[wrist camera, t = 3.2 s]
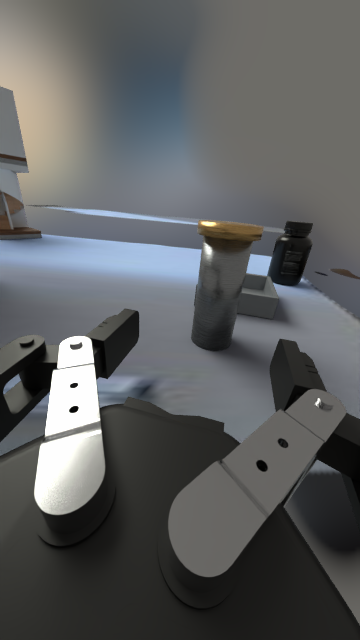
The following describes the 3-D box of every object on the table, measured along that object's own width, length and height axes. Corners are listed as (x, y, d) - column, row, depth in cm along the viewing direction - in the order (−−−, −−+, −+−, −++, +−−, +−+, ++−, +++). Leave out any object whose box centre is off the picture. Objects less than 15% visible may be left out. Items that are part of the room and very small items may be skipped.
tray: (194, 305, 33) (196, 285, 31) (205, 283, 42) (207, 267, 41) (272, 319, 31) (279, 298, 29) (265, 293, 40) (270, 276, 39)
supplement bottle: (304, 283, 49) (325, 224, 43) (291, 288, 44) (312, 223, 39) (274, 274, 53) (290, 220, 47) (260, 279, 49) (275, 219, 43)
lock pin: (180, 347, 23) (192, 221, 17) (191, 323, 28) (203, 219, 22) (235, 359, 22) (266, 229, 16) (236, 332, 27) (261, 224, 21)
